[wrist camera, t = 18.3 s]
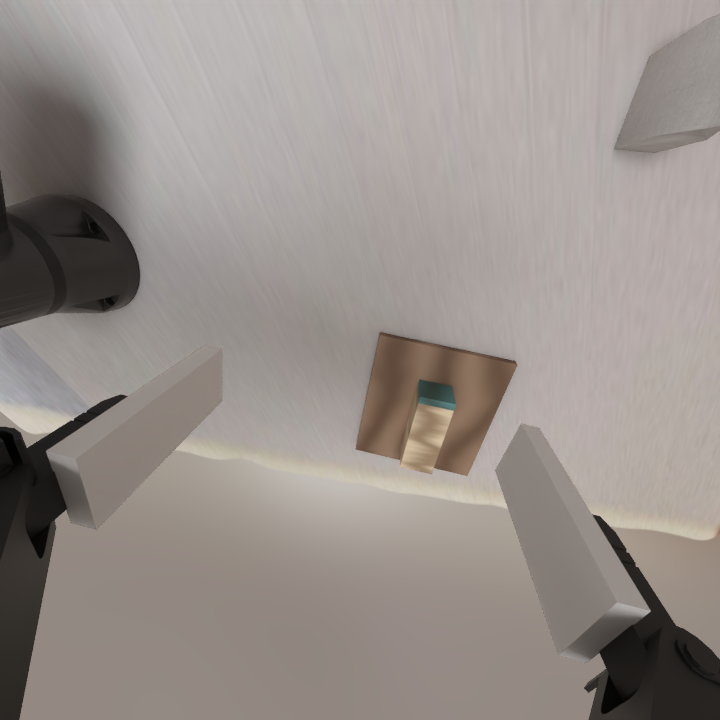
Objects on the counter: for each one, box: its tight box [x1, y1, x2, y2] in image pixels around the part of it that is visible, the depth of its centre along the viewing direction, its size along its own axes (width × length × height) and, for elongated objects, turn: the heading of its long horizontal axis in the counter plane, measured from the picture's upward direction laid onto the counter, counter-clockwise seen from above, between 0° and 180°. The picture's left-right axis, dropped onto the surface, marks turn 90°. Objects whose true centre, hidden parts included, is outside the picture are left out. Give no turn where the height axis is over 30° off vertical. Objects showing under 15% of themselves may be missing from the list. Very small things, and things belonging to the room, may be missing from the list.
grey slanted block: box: [614, 14, 720, 153], centre depth 24 cm, size 4×7×10 cm, turn 174°
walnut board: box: [356, 333, 517, 476], centre depth 45 cm, size 18×20×1 cm
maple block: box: [400, 379, 456, 474], centre depth 43 cm, size 4×4×12 cm
